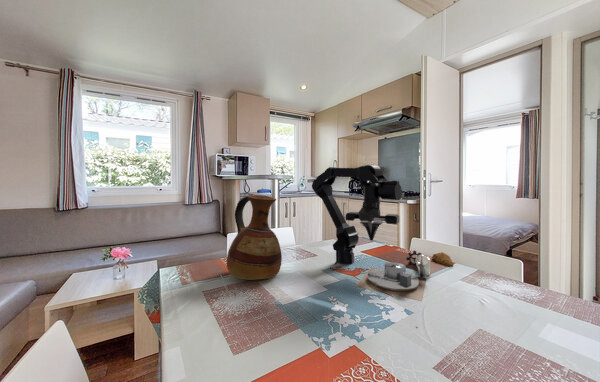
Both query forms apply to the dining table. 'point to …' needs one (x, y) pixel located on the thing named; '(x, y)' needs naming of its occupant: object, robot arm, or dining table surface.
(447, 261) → the croissant
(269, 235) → the ceramic pitcher
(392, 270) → the cover
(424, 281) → the base board
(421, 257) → the dial gauge
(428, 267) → the valve
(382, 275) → the turntable
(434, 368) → the dining table surface
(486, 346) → the dining table surface
